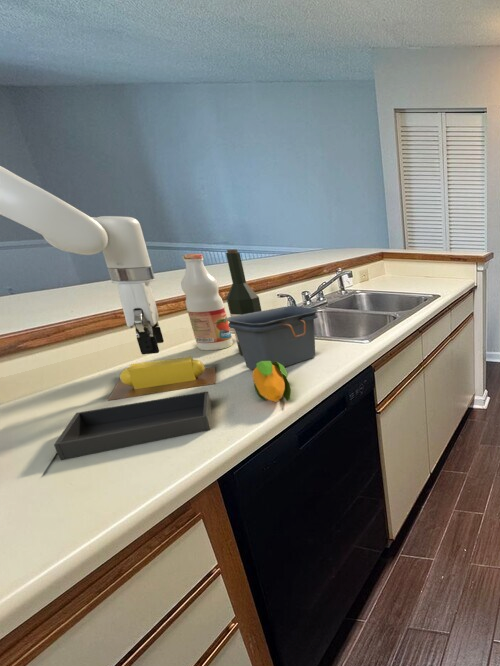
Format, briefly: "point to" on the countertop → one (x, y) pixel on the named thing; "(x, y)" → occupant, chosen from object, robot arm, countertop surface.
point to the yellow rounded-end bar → (162, 372)
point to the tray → (134, 424)
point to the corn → (271, 381)
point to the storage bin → (276, 335)
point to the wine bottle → (240, 290)
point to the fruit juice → (205, 305)
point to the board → (162, 386)
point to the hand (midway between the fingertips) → (153, 348)
